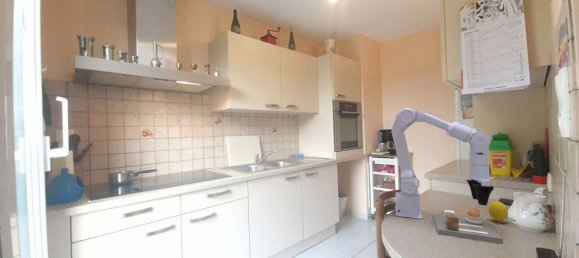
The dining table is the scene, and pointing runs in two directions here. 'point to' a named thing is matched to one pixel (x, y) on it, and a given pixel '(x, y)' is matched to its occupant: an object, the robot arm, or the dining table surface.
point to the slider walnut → (452, 222)
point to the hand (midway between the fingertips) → (479, 202)
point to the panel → (469, 229)
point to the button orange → (473, 212)
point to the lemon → (498, 211)
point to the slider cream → (448, 213)
